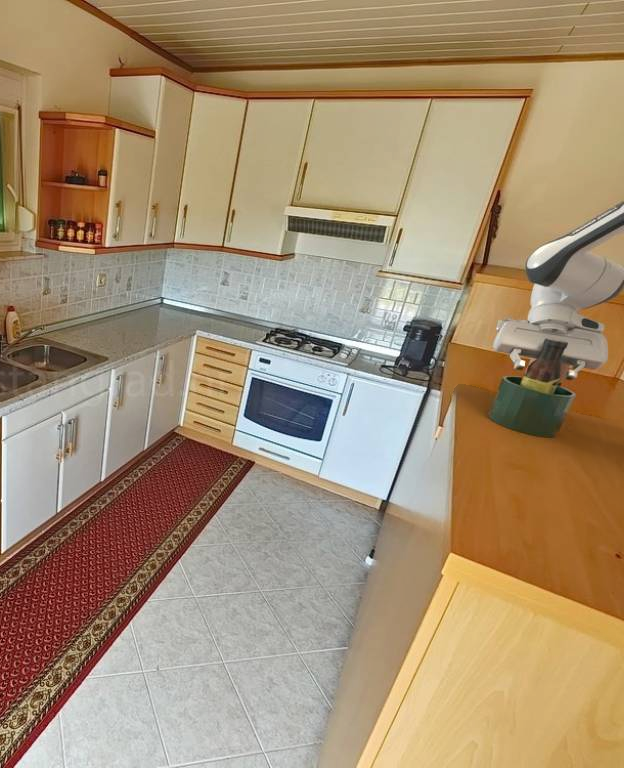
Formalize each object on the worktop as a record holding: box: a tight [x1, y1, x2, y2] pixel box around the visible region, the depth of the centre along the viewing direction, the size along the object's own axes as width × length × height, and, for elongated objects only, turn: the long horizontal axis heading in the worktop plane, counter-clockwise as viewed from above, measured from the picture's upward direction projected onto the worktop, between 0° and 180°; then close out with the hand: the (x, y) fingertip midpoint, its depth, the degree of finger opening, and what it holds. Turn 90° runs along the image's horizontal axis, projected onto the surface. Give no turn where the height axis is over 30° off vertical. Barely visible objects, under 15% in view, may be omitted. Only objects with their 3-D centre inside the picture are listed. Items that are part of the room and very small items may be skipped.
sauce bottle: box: [520, 338, 568, 394], centre depth 112 cm, size 6×6×20 cm
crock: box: [487, 375, 577, 438], centre depth 114 cm, size 13×13×10 cm
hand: (544, 373), depth 111 cm, fingers open, 8 cm apart
